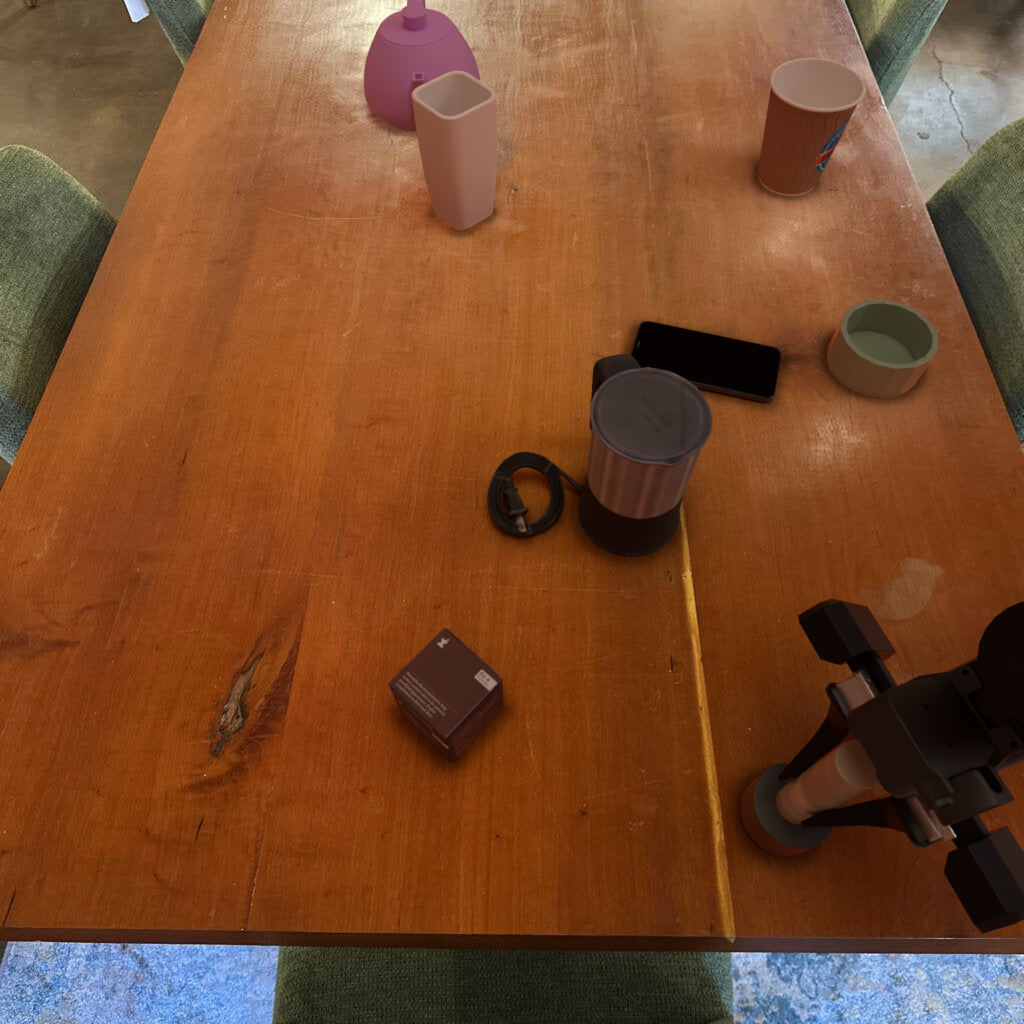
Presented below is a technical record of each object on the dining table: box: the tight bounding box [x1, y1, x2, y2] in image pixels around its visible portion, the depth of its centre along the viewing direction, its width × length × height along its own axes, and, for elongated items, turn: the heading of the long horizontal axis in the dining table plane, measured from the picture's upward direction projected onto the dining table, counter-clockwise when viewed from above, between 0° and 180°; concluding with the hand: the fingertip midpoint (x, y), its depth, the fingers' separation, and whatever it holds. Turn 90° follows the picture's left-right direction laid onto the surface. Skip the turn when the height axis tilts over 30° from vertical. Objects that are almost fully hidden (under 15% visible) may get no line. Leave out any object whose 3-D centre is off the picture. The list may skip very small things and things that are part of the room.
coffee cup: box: [757, 57, 866, 197], centre depth 89 cm, size 10×10×12 cm
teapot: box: [363, 0, 481, 133], centre depth 99 cm, size 22×16×12 cm
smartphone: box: [629, 320, 782, 403], centre depth 79 cm, size 7×1×15 cm
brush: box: [739, 741, 880, 857], centre depth 49 cm, size 6×6×16 cm
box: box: [387, 627, 504, 763], centre depth 58 cm, size 6×6×7 cm
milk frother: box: [486, 353, 714, 557], centre depth 64 cm, size 14×16×15 cm
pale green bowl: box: [826, 298, 940, 399], centre depth 77 cm, size 9×9×4 cm
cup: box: [412, 71, 498, 231], centre depth 86 cm, size 7×7×15 cm
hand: (792, 801), depth 49 cm, fingers closed on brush, 2 cm apart
